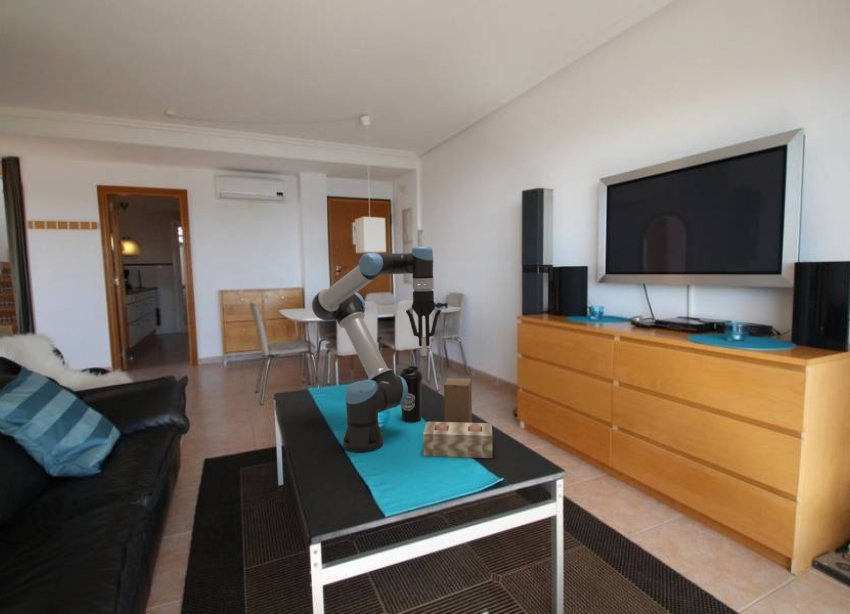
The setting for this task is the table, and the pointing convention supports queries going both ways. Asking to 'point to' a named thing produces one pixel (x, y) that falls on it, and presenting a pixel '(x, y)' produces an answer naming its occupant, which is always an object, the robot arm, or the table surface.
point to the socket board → (458, 440)
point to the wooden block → (458, 400)
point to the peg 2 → (475, 428)
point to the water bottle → (412, 395)
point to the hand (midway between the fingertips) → (424, 355)
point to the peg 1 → (441, 427)
